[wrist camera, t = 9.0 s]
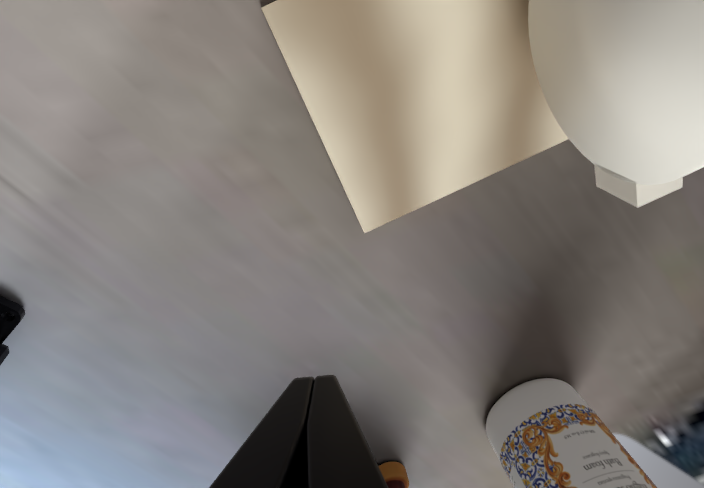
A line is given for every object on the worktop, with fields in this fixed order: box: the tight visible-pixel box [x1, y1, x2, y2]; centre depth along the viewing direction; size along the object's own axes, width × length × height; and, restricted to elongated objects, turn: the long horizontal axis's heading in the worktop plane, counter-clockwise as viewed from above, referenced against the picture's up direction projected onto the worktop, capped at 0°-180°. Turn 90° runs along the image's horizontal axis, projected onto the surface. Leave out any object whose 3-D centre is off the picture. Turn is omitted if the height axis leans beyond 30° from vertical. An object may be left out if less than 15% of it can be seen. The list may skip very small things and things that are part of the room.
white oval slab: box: [528, 0, 704, 208], centre depth 13 cm, size 2×10×8 cm, turn 22°
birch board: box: [261, 0, 569, 233], centre depth 17 cm, size 17×10×2 cm, turn 113°
